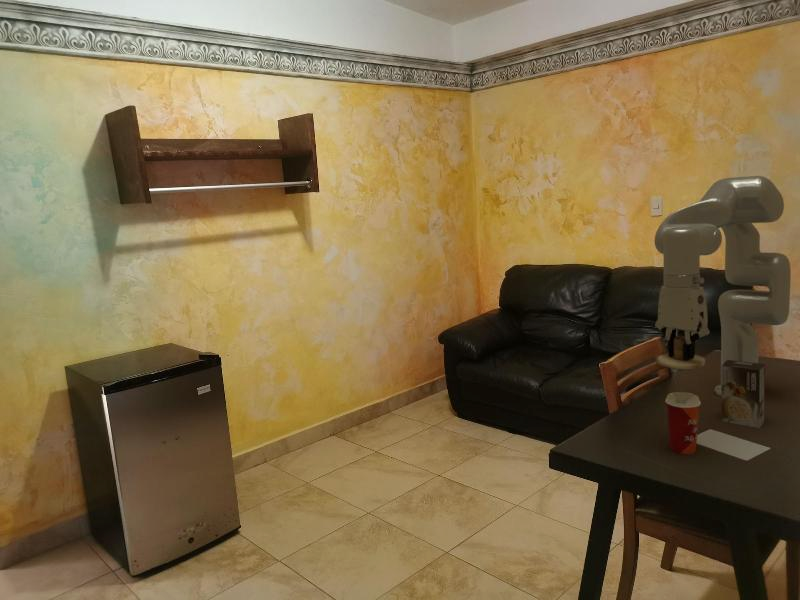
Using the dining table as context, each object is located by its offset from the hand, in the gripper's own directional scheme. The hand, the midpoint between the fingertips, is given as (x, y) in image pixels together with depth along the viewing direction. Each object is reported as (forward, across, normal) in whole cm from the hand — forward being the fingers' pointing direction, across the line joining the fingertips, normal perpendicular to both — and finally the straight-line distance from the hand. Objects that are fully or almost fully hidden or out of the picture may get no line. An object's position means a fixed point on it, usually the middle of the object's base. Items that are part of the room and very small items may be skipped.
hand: (681, 356), depth 138 cm
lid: (+1, 0, 0) cm, 1 cm away
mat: (+24, -6, -10) cm, 26 cm away
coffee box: (+24, 0, -26) cm, 35 cm away
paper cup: (+24, 0, 0) cm, 24 cm away
